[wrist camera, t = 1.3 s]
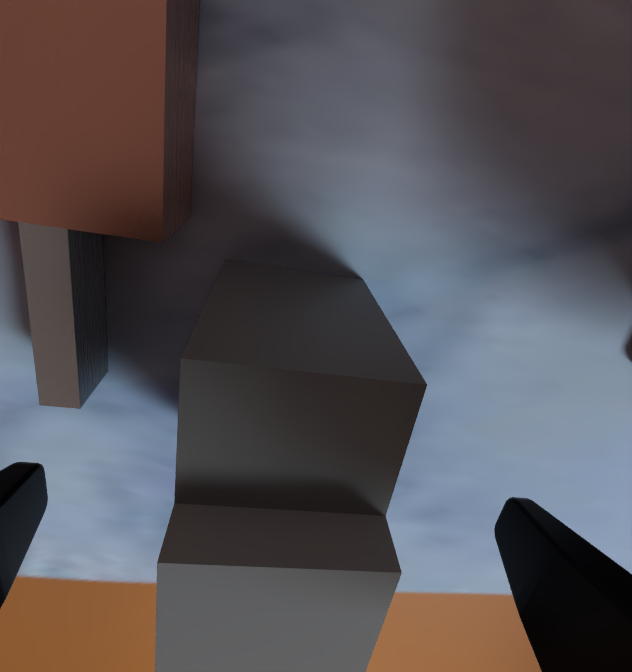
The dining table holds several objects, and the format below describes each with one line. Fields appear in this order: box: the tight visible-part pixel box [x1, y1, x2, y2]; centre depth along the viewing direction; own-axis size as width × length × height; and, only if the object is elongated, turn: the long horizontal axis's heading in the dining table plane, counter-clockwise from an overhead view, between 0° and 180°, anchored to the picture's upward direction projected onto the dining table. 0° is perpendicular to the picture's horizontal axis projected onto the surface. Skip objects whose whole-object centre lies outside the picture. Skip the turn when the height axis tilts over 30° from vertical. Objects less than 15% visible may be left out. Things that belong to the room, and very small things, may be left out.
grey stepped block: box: [155, 260, 427, 672], centre depth 10 cm, size 4×6×7 cm, turn 170°
